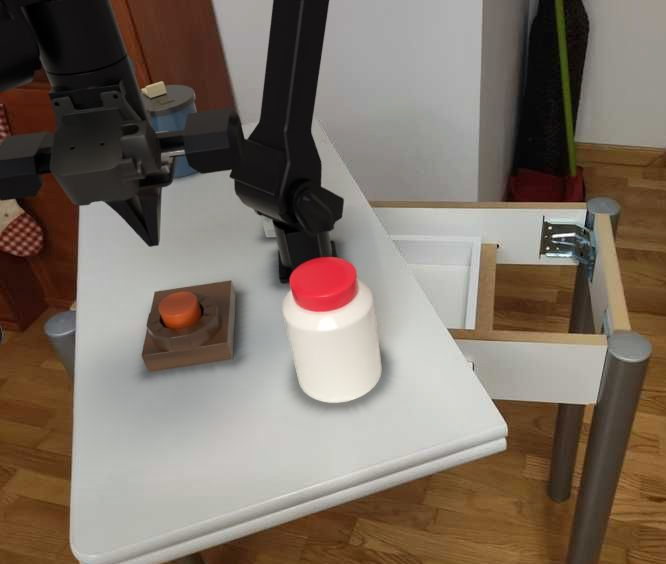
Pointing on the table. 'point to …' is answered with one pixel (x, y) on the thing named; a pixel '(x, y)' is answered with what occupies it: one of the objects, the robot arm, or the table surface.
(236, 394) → the table surface
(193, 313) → the button
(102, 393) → the table surface
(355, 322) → the pill bottle
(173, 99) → the travel cup
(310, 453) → the table surface
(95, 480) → the table surface
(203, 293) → the button block
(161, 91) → the cream wedge block
